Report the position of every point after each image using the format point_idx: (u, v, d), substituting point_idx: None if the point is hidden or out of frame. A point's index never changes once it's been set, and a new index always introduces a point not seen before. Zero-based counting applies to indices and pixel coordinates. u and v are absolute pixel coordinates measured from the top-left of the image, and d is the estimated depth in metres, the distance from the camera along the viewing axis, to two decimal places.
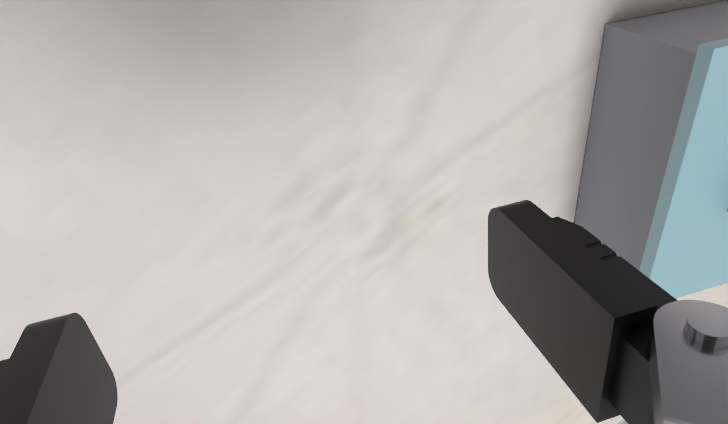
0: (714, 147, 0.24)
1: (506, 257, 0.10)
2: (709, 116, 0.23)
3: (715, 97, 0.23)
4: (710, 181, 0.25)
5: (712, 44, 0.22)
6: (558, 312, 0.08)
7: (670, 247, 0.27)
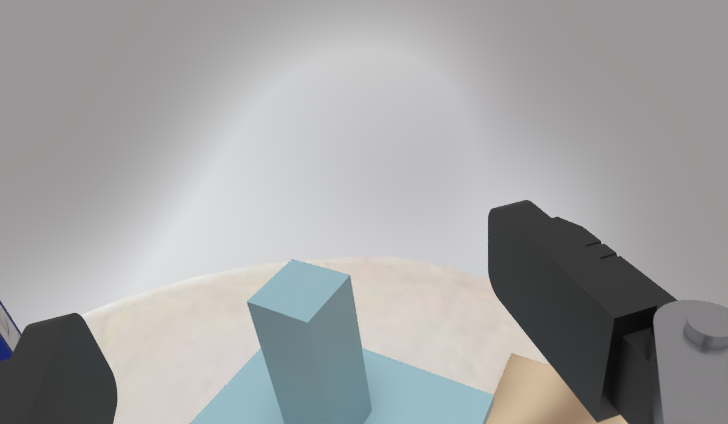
0: None
1: (505, 258, 0.10)
2: None
3: None
4: None
5: None
6: (558, 312, 0.08)
7: None
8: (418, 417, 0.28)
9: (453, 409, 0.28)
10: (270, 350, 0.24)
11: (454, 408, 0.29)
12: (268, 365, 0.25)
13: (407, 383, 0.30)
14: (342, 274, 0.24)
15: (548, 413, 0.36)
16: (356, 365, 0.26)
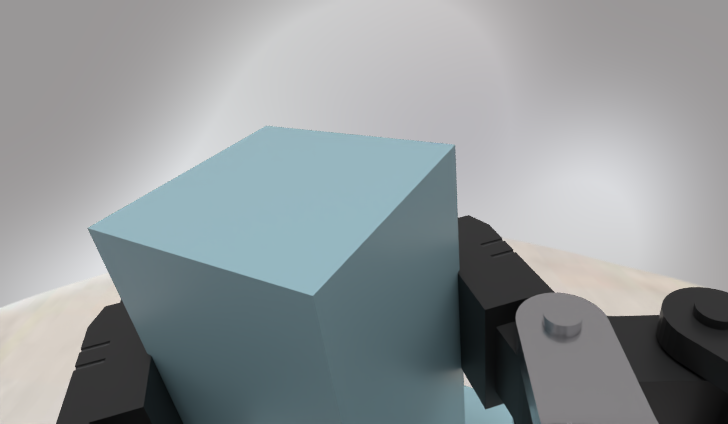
0: None
1: None
2: None
3: None
4: None
5: None
6: None
7: None
8: None
9: None
10: (192, 401, 0.07)
11: None
12: None
13: None
14: (428, 144, 0.07)
15: None
16: None
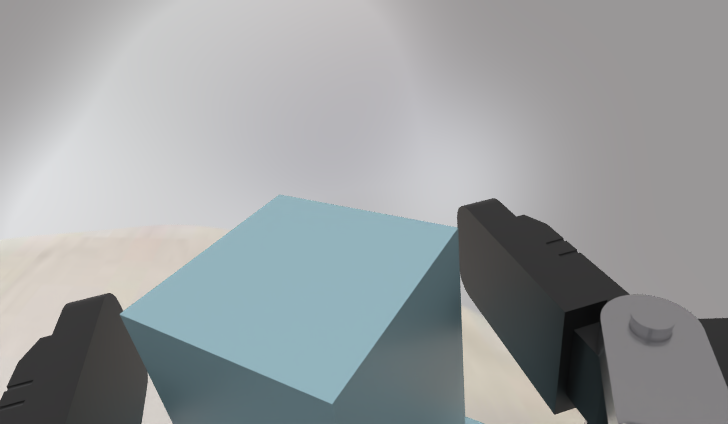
0: None
1: (473, 254, 0.10)
2: None
3: None
4: None
5: None
6: (519, 307, 0.09)
7: None
8: None
9: None
10: None
11: None
12: None
13: None
14: (432, 226, 0.08)
15: None
16: None
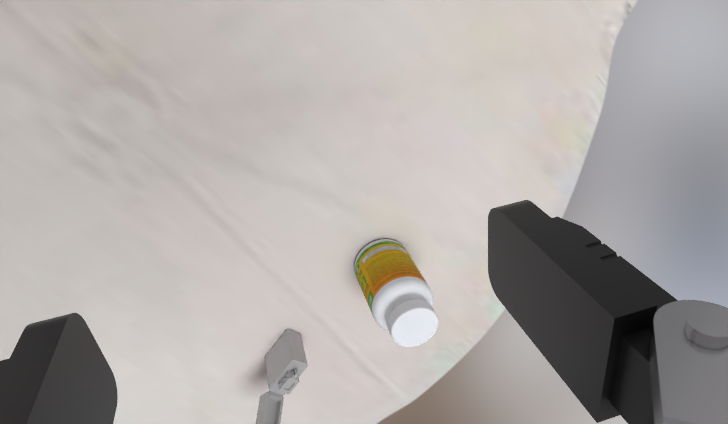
0: None
1: (506, 258, 0.10)
2: None
3: None
4: None
5: None
6: (558, 312, 0.08)
7: None
8: None
9: None
10: None
11: None
12: None
13: None
14: None
15: None
16: None
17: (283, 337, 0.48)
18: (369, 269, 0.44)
